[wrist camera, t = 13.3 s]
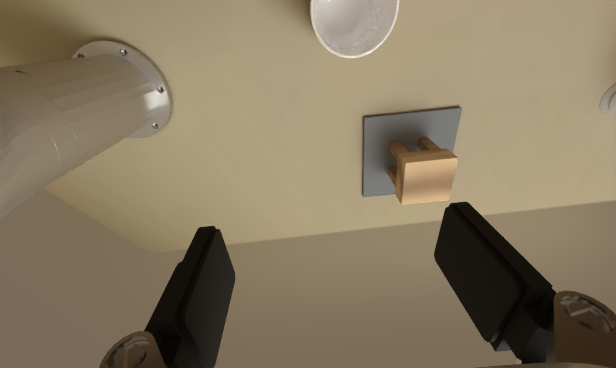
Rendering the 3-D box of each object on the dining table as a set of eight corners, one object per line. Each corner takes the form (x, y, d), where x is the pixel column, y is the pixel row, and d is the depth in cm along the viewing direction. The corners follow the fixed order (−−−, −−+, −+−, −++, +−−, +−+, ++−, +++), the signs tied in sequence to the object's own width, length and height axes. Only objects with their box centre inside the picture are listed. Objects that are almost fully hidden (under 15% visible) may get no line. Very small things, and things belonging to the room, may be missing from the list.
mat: (362, 195, 45) (363, 197, 44) (363, 117, 38) (364, 118, 37) (443, 187, 44) (444, 189, 44) (459, 107, 37) (462, 108, 37)
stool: (387, 139, 39) (405, 163, 32) (430, 135, 39) (458, 157, 32) (385, 176, 42) (401, 204, 35) (425, 172, 42) (448, 200, 35)
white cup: (367, 52, 33) (389, 59, 25) (307, 49, 33) (308, 56, 24) (377, -25, 29) (409, -48, 21) (309, -29, 29) (312, -54, 20)
